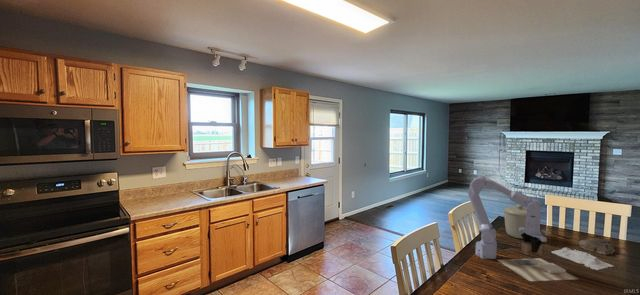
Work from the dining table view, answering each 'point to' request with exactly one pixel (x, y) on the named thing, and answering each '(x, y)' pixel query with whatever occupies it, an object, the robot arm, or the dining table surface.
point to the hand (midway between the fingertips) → (531, 250)
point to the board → (534, 270)
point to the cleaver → (555, 234)
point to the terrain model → (582, 258)
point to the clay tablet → (597, 246)
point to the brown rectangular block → (530, 249)
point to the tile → (551, 268)
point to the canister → (515, 220)
